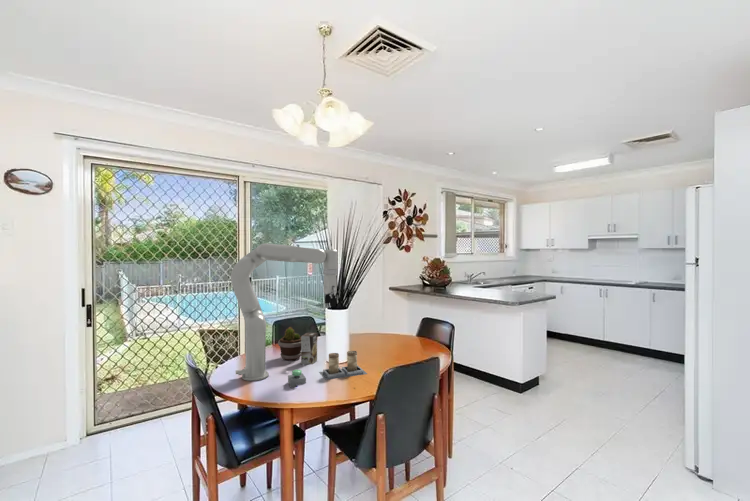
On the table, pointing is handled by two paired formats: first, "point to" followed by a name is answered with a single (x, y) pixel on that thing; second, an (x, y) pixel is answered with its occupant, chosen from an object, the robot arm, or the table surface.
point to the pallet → (342, 373)
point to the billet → (351, 361)
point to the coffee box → (308, 348)
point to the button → (296, 373)
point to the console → (296, 380)
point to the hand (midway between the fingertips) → (330, 304)
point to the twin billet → (333, 363)
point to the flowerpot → (290, 345)
